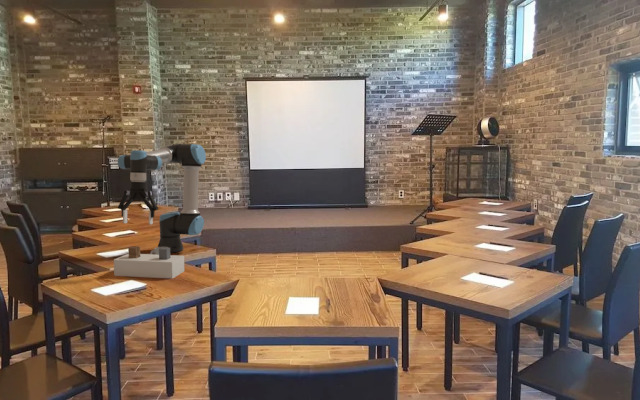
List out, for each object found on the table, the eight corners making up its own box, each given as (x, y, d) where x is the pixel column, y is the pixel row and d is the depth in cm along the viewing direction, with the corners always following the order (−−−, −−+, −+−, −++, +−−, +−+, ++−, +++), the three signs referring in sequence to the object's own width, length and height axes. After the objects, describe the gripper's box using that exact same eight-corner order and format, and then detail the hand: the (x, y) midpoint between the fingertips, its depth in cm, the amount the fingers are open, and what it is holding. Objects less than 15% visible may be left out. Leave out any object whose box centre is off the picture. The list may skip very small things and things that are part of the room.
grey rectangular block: (129, 268, 247) (128, 253, 246) (184, 271, 243) (184, 255, 242) (114, 275, 233) (113, 259, 232) (172, 278, 229) (172, 262, 228)
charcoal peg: (162, 261, 238) (162, 247, 238) (170, 261, 238) (170, 247, 237) (159, 263, 234) (158, 249, 234) (166, 263, 234) (166, 249, 233)
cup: (166, 266, 252) (165, 249, 251) (147, 265, 253) (147, 249, 252) (170, 262, 260) (170, 246, 259) (152, 262, 260) (152, 246, 259)
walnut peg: (133, 259, 240) (132, 246, 240) (140, 260, 240) (140, 246, 239) (128, 261, 237) (128, 247, 236) (136, 262, 236) (135, 248, 235)
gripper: (110, 180, 235) (110, 223, 236) (158, 182, 232) (158, 225, 233) (118, 180, 242) (118, 222, 243) (165, 182, 239) (164, 223, 240)
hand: (137, 223), depth 238 cm, fingers open, 13 cm apart
